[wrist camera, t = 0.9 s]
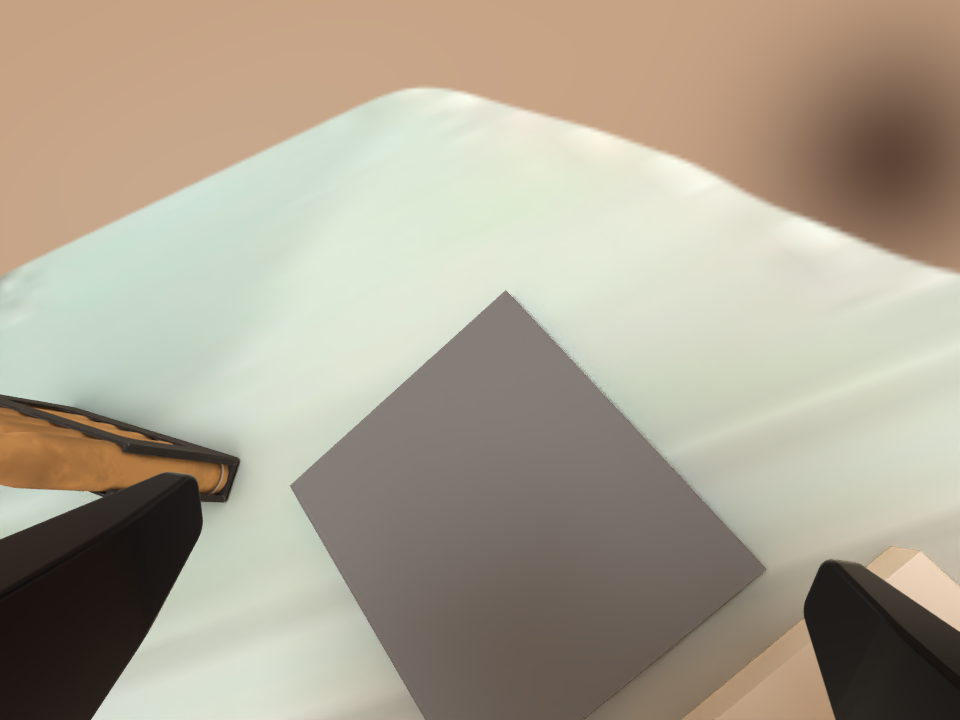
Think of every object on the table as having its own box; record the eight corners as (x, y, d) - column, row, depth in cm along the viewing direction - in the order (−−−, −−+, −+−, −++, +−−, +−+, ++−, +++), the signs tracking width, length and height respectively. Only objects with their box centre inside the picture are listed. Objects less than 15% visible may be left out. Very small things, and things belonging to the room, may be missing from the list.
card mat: (763, 567, 16) (766, 569, 16) (482, 797, 17) (476, 807, 17) (510, 296, 21) (505, 290, 20) (299, 486, 22) (289, 485, 21)
